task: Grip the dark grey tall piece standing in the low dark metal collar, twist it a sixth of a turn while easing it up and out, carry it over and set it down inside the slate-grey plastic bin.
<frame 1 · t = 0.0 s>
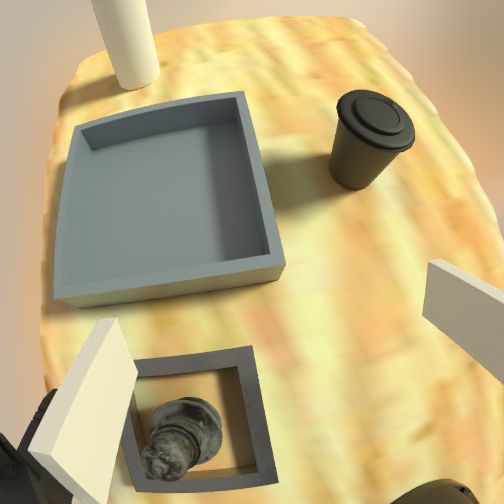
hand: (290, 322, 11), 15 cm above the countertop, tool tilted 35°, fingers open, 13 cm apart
dark grey tall piece: (192, 423, 23), resting in collar
collar: (192, 424, 23), on the countertop
coffee cup: (350, 171, 32), on the countertop
white plastic bottle: (140, 78, 37), on the countertop
bin: (164, 202, 30), on the countertop
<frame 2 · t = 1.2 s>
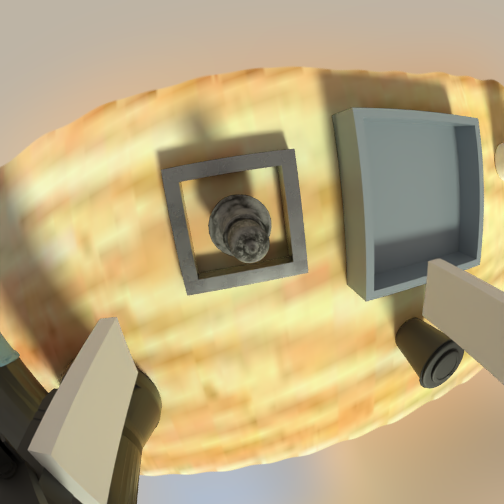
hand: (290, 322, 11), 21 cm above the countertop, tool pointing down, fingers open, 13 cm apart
dark grey tall piece: (236, 219, 31), resting in collar
collar: (236, 219, 31), on the countertop
coffee cup: (408, 332, 39), on the countertop
white plastic bottle: (502, 161, 34), on the countertop
bin: (410, 194, 33), on the countertop
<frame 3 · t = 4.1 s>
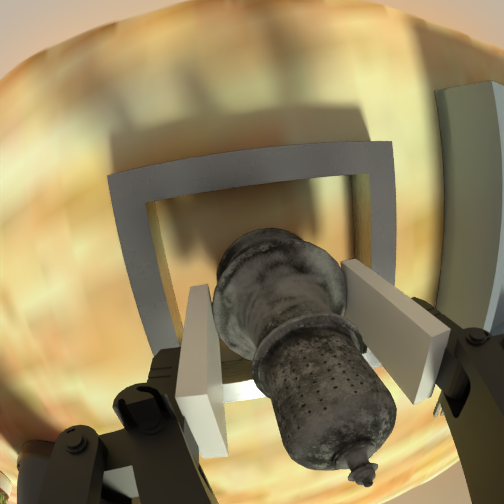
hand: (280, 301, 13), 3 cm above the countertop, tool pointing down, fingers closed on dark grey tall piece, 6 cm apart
dark grey tall piece: (267, 276, 16), resting in collar, touching gripper
collar: (268, 277, 15), on the countertop
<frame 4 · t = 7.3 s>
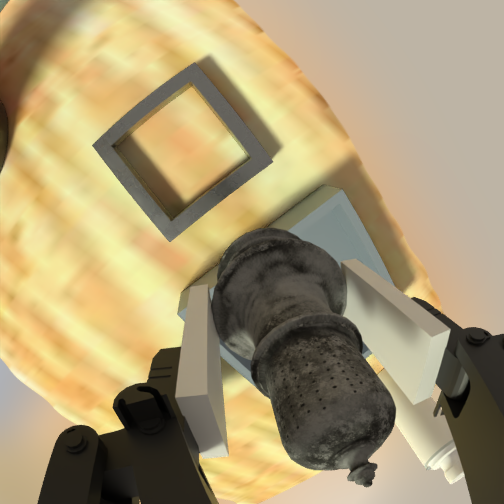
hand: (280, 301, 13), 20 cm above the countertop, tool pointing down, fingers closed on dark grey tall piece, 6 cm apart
dark grey tall piece: (267, 275, 16), point 16 cm above the countertop, touching gripper
collar: (181, 150, 28), on the countertop
white plastic bottle: (387, 377, 43), on the countertop
bin: (299, 301, 35), on the countertop
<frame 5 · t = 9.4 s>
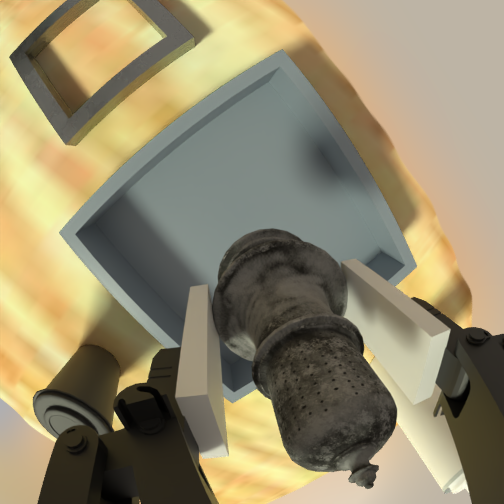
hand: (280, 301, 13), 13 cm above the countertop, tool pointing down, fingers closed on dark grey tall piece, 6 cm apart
dark grey tall piece: (267, 276, 16), point 10 cm above the countertop, touching gripper
collar: (94, 48, 18), on the countertop
coffee cup: (97, 363, 27), on the countertop
white plastic bottle: (389, 362, 32), on the countertop
bin: (245, 234, 25), on the countertop
when the fingers open (5 cm above the countertop, at t = 11.0 s): dark grey tall piece drops 1 cm, resting on bin.
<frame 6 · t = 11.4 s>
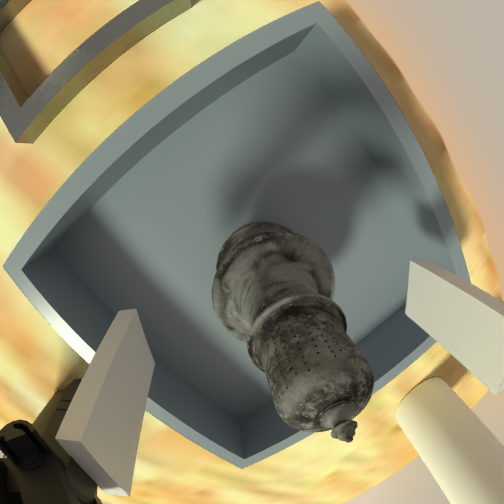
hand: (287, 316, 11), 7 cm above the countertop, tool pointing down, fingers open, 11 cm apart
dark grey tall piece: (262, 266, 17), point 1 cm above the countertop, touching bin
collar: (62, 18, 11), on the countertop
coffee cup: (78, 410, 20), on the countertop
white plastic bottle: (419, 399, 25), on the countertop
bin: (260, 262, 18), on the countertop
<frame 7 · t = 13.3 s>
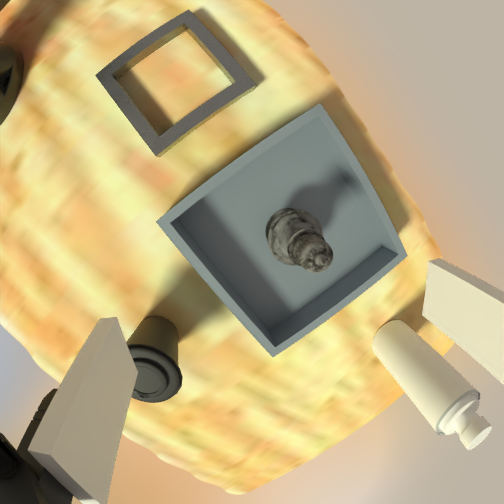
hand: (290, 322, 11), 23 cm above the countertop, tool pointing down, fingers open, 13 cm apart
dark grey tall piece: (288, 230, 34), point 1 cm above the countertop, touching bin
collar: (173, 80, 28), on the countertop
coffee cup: (158, 332, 36), on the countertop
white plastic bottle: (389, 337, 41), on the countertop
bin: (286, 230, 34), on the countertop
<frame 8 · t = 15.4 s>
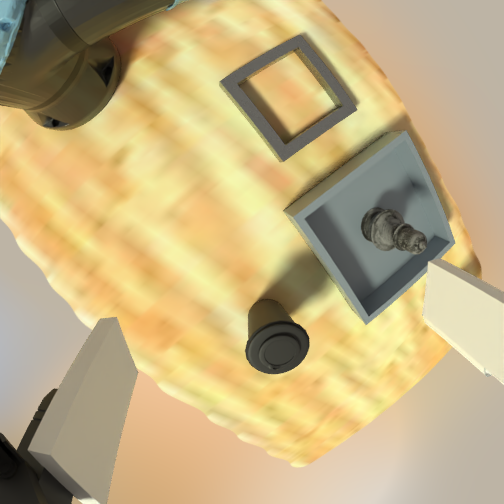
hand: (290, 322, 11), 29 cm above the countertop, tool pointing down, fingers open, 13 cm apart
dark grey tall piece: (375, 224, 41), point 1 cm above the countertop, touching bin
collar: (288, 96, 35), on the countertop
coffee cup: (265, 314, 43), on the countertop
white plastic bottle: (434, 309, 48), on the countertop
bin: (373, 224, 41), on the countertop
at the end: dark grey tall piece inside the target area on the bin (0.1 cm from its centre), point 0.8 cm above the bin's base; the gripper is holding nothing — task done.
